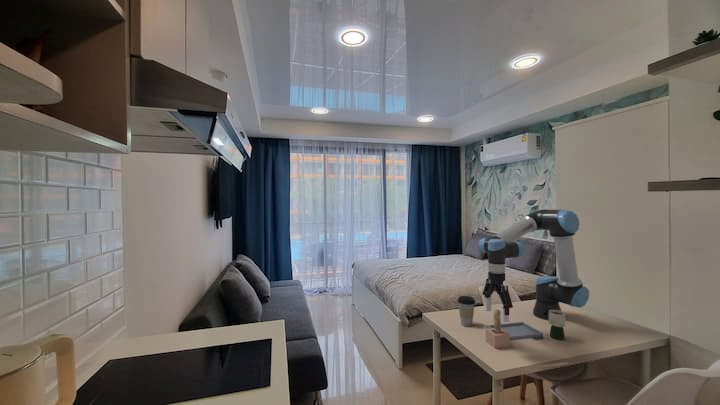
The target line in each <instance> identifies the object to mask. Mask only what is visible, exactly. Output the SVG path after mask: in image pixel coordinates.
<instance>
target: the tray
mask: <svg viewBox="0 0 720 405" xmlns="http://www.w3.org/2000/svg"><path fill="white" fill-rule="evenodd" d="M485 326H486V327H485V329H490V328H494V324H486V325H485ZM501 329H503V330H504V331H506V332H507V333H508V334H510V340H511V341H512V340H513V341H514V340H521V339H532V340H539V339H544V333H543V332H541V331H540V330H538V329H536V328H535V327H534V326H531V325H529V324H528V323H526V322H525V321H517V322H503V323H501Z"/></svg>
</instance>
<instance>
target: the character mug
mask: <svg viewBox="0 0 720 405" xmlns="http://www.w3.org/2000/svg"><path fill="white" fill-rule="evenodd" d="M548 324H550V330H549V336H550V337H551V338H553V339H557V340H564V339H565V338H566V337H565V331H564V330H565V329H564V327H566V312H564V311H562V310H561V311H559V310H549V320H548Z"/></svg>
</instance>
